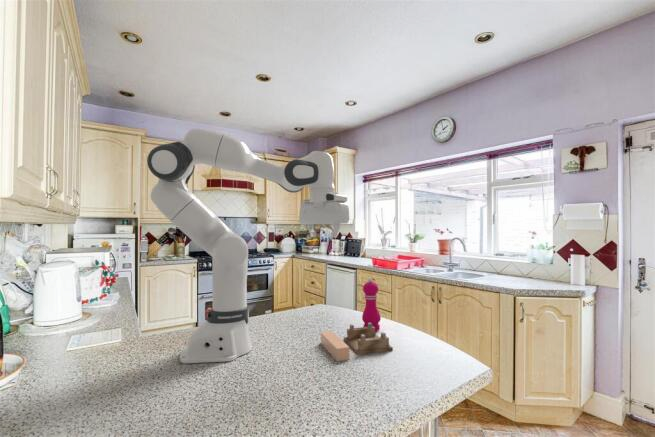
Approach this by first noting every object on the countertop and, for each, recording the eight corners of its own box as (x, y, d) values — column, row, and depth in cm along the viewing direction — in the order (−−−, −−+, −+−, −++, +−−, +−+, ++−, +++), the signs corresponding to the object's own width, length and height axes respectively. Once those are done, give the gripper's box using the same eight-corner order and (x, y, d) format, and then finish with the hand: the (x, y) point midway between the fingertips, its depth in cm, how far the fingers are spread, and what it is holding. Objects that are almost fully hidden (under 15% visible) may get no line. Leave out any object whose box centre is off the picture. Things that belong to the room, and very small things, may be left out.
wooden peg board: (357, 355, 100) (357, 337, 100) (344, 340, 113) (343, 324, 113) (392, 350, 103) (392, 333, 103) (375, 336, 116) (374, 321, 116)
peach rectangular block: (337, 362, 96) (337, 348, 96) (320, 344, 111) (320, 332, 111) (349, 360, 97) (349, 346, 97) (331, 342, 112) (331, 331, 112)
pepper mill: (382, 332, 121) (380, 279, 121) (363, 332, 121) (362, 279, 122) (379, 326, 128) (378, 276, 129) (361, 326, 128) (360, 276, 129)
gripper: (294, 199, 115) (295, 237, 114) (340, 195, 102) (341, 237, 102) (306, 200, 120) (307, 237, 119) (351, 196, 107) (352, 237, 107)
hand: (323, 237), depth 110 cm, fingers open, 8 cm apart
